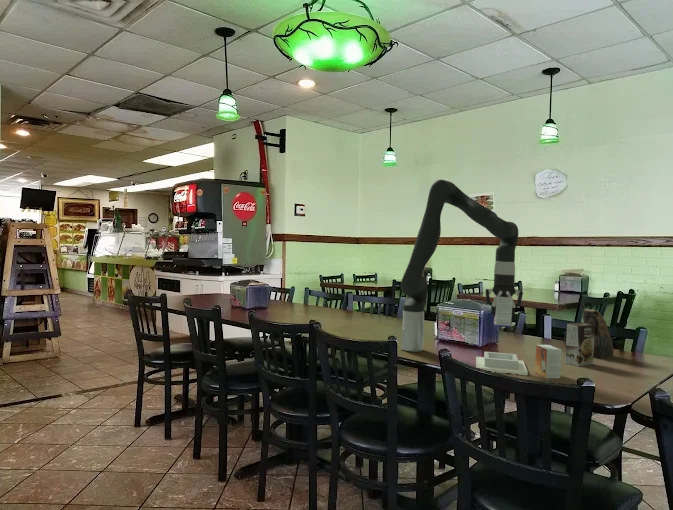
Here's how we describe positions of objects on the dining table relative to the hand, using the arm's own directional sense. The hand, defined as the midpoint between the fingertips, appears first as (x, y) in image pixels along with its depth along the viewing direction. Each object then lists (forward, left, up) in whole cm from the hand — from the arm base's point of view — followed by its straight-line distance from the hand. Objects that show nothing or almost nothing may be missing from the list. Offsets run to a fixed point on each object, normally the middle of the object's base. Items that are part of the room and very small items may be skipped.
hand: (502, 316), depth 187 cm
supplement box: (0, 0, -4) cm, 4 cm away
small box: (+16, -7, -20) cm, 26 cm away
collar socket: (0, -1, -19) cm, 19 cm away
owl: (+42, +36, -20) cm, 59 cm away
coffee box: (+31, +17, -20) cm, 40 cm away
